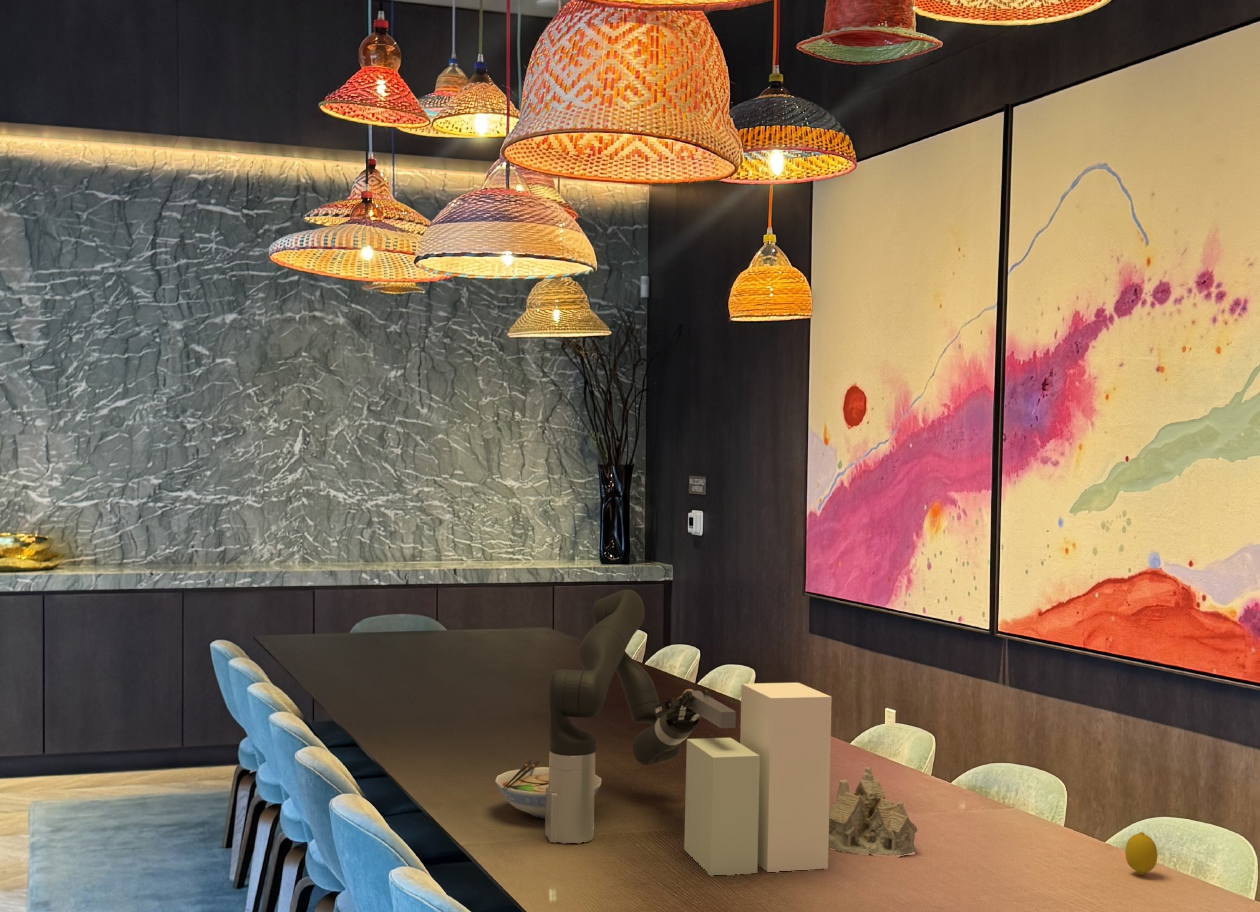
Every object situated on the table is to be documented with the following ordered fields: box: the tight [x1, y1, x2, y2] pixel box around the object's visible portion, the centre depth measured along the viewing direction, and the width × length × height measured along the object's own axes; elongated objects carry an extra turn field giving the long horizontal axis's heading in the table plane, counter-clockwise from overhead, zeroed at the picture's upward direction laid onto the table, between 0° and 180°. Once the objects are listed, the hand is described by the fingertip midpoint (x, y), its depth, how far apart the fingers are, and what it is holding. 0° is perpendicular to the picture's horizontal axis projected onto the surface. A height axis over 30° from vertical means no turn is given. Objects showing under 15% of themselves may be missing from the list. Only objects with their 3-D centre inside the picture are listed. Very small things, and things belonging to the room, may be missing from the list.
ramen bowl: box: [494, 759, 602, 819], centre depth 264 cm, size 25×23×8 cm
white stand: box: [739, 682, 833, 873], centre depth 237 cm, size 12×16×32 cm
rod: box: [681, 688, 737, 729], centre depth 243 cm, size 3×24×3 cm, turn 15°
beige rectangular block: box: [683, 737, 760, 877], centre depth 234 cm, size 9×16×22 cm, turn 15°
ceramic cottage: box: [828, 766, 918, 856], centre depth 245 cm, size 16×16×15 cm
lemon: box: [1124, 831, 1158, 876], centre depth 232 cm, size 6×6×8 cm
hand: (699, 695), depth 249 cm, fingers closed on rod, 3 cm apart
